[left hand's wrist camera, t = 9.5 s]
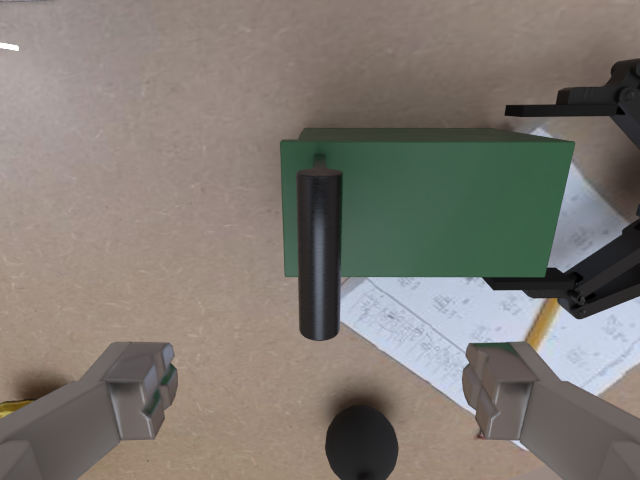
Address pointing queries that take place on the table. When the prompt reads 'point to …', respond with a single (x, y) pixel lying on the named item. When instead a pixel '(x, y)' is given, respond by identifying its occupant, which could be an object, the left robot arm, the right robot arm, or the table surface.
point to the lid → (415, 213)
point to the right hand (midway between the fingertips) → (498, 201)
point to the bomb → (361, 444)
